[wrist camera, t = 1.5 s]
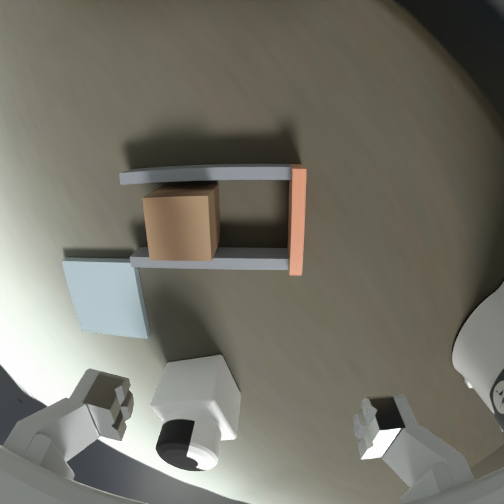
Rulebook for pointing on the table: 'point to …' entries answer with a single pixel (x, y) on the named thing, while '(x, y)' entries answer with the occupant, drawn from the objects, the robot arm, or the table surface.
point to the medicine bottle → (196, 411)
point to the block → (183, 222)
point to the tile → (107, 296)
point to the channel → (235, 256)
